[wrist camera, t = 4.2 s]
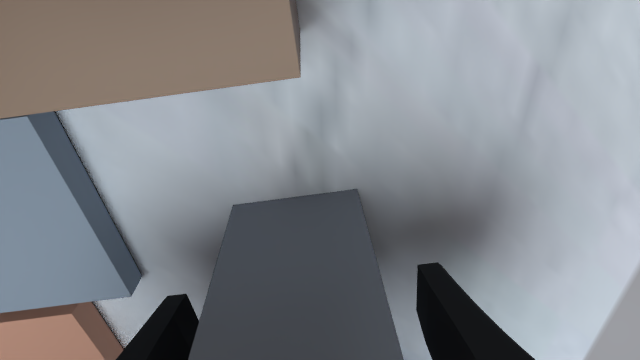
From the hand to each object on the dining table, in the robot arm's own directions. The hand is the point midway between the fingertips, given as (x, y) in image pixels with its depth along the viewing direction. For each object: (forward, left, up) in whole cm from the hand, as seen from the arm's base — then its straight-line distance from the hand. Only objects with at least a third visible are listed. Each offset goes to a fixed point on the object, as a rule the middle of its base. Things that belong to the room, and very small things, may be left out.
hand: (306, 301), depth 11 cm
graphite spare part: (0, 0, -3) cm, 3 cm away
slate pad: (+3, +10, -3) cm, 11 cm away
